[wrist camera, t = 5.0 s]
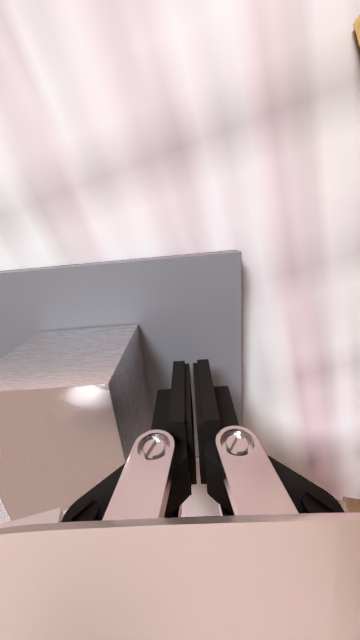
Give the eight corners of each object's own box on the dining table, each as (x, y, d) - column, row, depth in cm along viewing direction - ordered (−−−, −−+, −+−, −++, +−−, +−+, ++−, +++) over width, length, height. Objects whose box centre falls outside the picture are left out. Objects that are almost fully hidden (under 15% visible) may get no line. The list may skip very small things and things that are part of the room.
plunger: (153, 421, 14) (137, 516, 9) (-30, 431, 15) (-131, 527, 10) (137, 324, 12) (107, 384, 7) (-74, 340, 13) (-228, 405, 8)
